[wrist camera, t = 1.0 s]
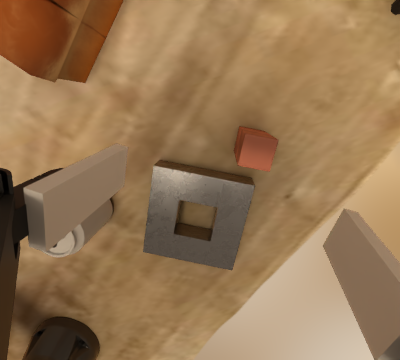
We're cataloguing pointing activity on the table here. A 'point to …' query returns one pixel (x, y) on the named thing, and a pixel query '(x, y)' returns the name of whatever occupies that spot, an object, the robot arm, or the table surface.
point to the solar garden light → (396, 7)
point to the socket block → (202, 194)
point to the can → (82, 232)
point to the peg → (255, 149)
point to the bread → (55, 35)
